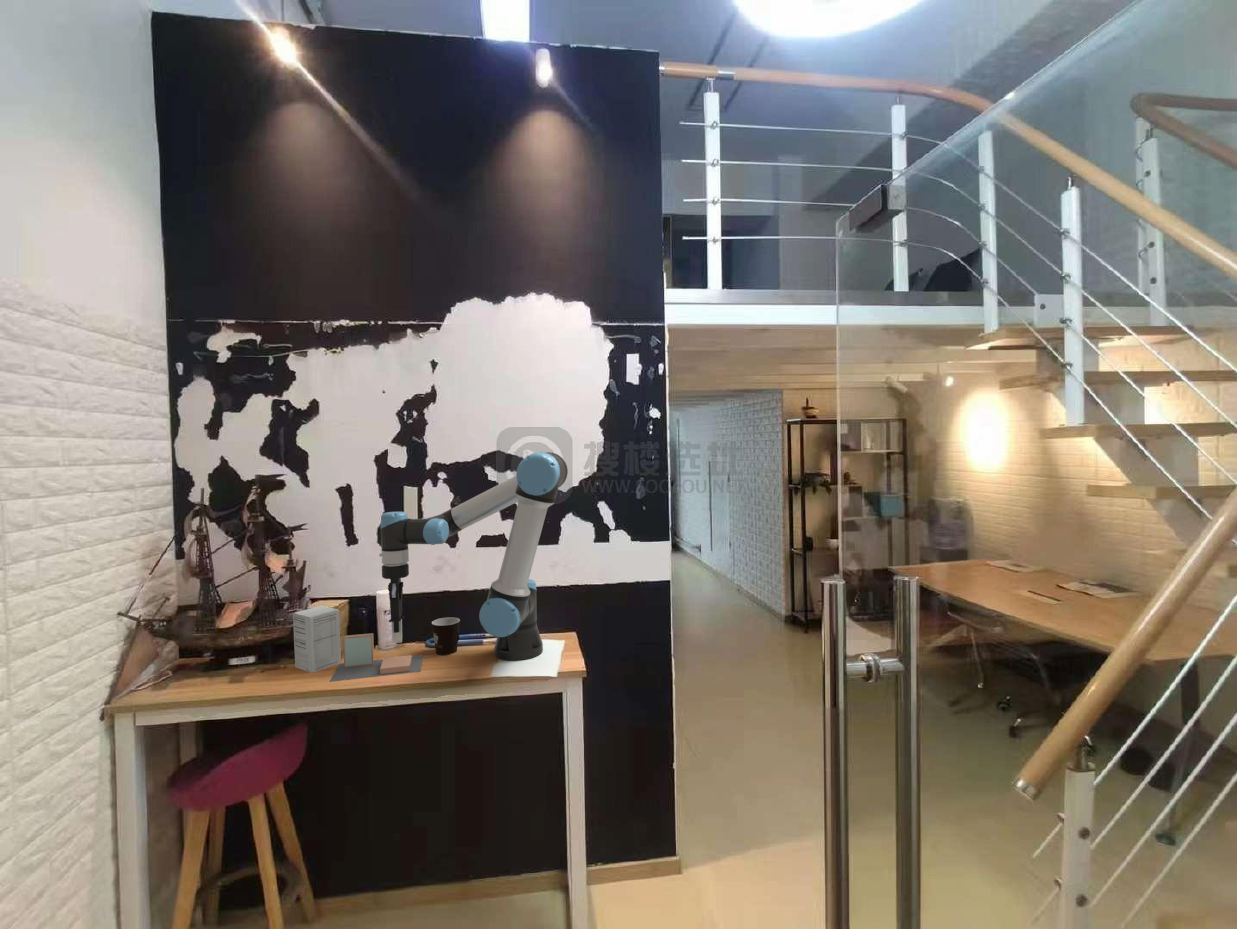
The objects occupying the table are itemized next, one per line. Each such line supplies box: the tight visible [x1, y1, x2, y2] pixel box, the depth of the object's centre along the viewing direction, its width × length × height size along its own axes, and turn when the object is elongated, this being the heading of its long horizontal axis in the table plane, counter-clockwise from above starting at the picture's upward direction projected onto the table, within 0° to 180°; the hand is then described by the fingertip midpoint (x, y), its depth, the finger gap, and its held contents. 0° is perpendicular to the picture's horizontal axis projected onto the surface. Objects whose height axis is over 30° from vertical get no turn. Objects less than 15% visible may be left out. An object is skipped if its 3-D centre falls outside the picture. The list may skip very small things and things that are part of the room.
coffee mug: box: [431, 616, 461, 656], centre depth 184 cm, size 12×9×10 cm
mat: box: [329, 654, 424, 682], centre depth 173 cm, size 24×14×1 cm, turn 105°
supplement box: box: [292, 605, 342, 674], centre depth 175 cm, size 10×9×17 cm
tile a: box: [380, 654, 413, 674], centre depth 173 cm, size 8×2×9 cm
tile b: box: [343, 632, 375, 668], centre depth 175 cm, size 8×2×9 cm, turn 105°
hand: (397, 641), depth 176 cm, fingers closed
